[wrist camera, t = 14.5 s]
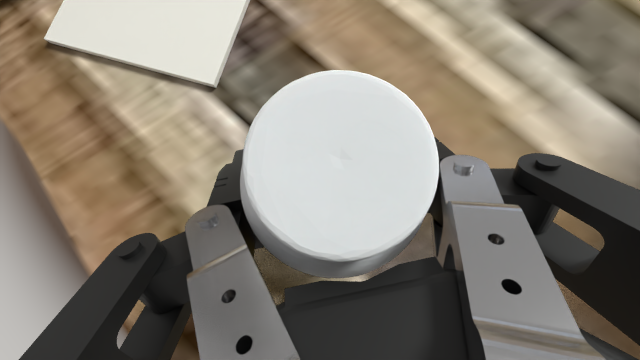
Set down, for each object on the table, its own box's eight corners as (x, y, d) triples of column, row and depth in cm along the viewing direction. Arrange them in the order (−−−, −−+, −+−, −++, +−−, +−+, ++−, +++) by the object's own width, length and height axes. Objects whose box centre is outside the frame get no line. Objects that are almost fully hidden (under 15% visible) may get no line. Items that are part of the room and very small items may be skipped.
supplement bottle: (274, 242, 15) (168, 287, 5) (289, 150, 16) (226, 18, 5) (370, 255, 14) (480, 332, 4) (379, 161, 15) (487, 46, 5)
